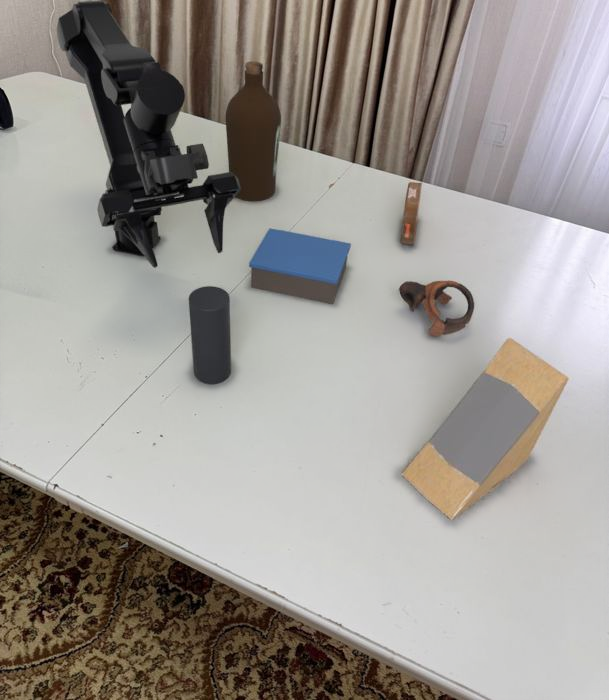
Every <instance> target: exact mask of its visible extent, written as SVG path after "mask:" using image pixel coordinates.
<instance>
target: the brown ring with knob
mask: <svg viewBox="0 0 609 700" xmlns="http://www.w3.org/2000/svg"><path fill="white" fill-rule="evenodd" d="M447 288H454V289H456V290H458V291H459V292H461V294H462V295H463V296H464V297H465V299H466V302H467V310H466V312H465V314H464V315H463V316H460V317H458V318H450V317H446V318H445V321H444V320H442V319H440V317H441V314H442V313H441V312H440V310H439V309H438V308H437V306H436V302H438V303H440V304H442V305H444V306H447V305H448V303H449V302H450V301H451V300H452V299H453V297H452V296H451V295H450V294H448V293H446V292H444V291H445V289H447ZM398 292H399V295H400V298H401V299H402V300H403V301H404V302H405V303H406V304H407V305H408V307H409V310H410V312H414V311H415V308H416V307H419V306H420V305H421V304H422V305H423V307H424V310H425V313H426V314H427V317H428V318H429V320H430V321H431V322H432V326H431V327H430V328H428V330H427V334H429V335H431V336H432V337H435V338H437V337H441V335H444V336H446V335H450V334H454V333H456V332H459V331H461V330H463V329H464V328H466V325H468V324H469V323H470V322H471V319H472V317H473V313H474V311H475V300H474V297H473V295H472V292H471V291H470V290H469V289H468V288H467V287H466V286H465V285H463V284H462V283H459V282H457V281H454V280H436V281H432V282H430V283H427V284H421V283H420V282H418V281H411V280H410V281H404V282H403V283H402V284H400V286H399V288H398Z"/></svg>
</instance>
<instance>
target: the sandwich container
mask: <svg viewBox="0 0 609 700" xmlns="http://www.w3.org/2000/svg"><path fill="white" fill-rule="evenodd" d="M568 381H569V376H567V375H566V374H565V373H562V372H561V371H560V370H558V369H557V368H555V367H554V366H552V365H551V364H550V363H548V362H547V361H545V359H543V358H541V357H540V356H538V355H536V354H535V353H533V352H532V351H531V350H530V349H528V348H527V347H525V346H524V345H522V344H520V343H519V342H518V341H516V340H514V339H513V338H511V337H508V338H507V339H506V340H505V341H504V342H503V344H502V345H501V346H500V348H499V350H498V351H497V352H496V354H495V355H494V356H493V358H492V359H491V360H490V362H489V363H488V364H487V365H486V367H485V368H484V370H483V371H482V373H481V374H480V375H479V376H478V378H477V379H476V380H475V382H473V384H472V386H471V387H470V388H469V389H468V390H467V392H466V393H465V394H464V396H463V397H462V398H461V399H460V401H459V402H458V403H457V405H455V407H454V408H453V409H452V411H451V412H450V413H449V415H448V416H447V417H446V418H445V420H444V421H443V422H442V423H441V424H440V426H439V427H438V429H436V431H435V432H434V434H433V435H432V436H431V437H430V438H429V440H428V441H427V443H425V445H424V446H423V448H421V450H420V451H419V452H418V453H417V455H416V456H415V457H414V459H412V461H411V462H410V464H408V466H407V467H406V468H405V469H404V471H403V472H402V473H401V476H402V477H403V478H405V480H406V481H407V482H408V483H410V484H411V485H412V487H414V488H415V490H417V491H418V492H419V494H421V495H422V496H423V497H424V498H425V499H426V500H427V501H428V502H430V503H431V504H432V505H433V506H434V507H435V508H437V509H438V510H439V511H440V512H441V513H443V514H444V515H445V516H446V517H448V518H449V519H450V520H451V521H453V520H454V519H455V518H457V517H458V516H459V515H461V514H462V513H464V512H465V511H467V510H468V509H469V508H470V507H471V506H473V505H474V504H475V503H477V502H478V501H479V500H481V499H482V498H484V497H486V495H488V494H489V493H490V492H491V491H492V490H494V489H495V488H496V487H497V486H498V485H500V484H501V483H502V482H503V481H504V480H505V479H508V478H509V477H510V476H511V475H512V474H514V473H515V472H516V471H517V469H519V468H520V467H521V466H522V465H523V464H524V463H526V461H527V460H528V459H529V458H530V456H531V454H532V451H533V450H534V448H535V446H536V444H537V442H538V440H539V438H540V437H541V434H542V433H543V431H544V429H545V426H546V424H547V423H548V420H549V419H550V417H551V416H552V412H553V411H554V409H555V407H556V405H557V403H558V401H559V399H560V397H561V395H562V393H563V392H564V390H565V387H566V385H567V383H568Z"/></svg>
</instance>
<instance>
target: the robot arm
mask: <svg viewBox="0 0 609 700" xmlns="http://www.w3.org/2000/svg"><path fill="white" fill-rule="evenodd" d="M57 19H58V20H57V25H56V35H57V41H58V45H59V47H60V49H61V51H62V52H65V56H66V59H67V61H68V64H69V66H70V68H72V69H73V70H74V71H75V72H76V73H77V74H78V75H79V76H80V77H82V79H83V80H84V83H85V85H86V89H87V92H88V93H87V94H88V96H89V100H90V103H91V106H92V109H93V113H94V116H95V119H96V122H97V126H98V129H99V132H100V133H99V134H100V136H101V139H102V142H103V146H104V150H105V152H106V155H107V159H108V163H109V166H110V167H109V169H108V174H107V177H106V181H105V186H106V189H105V190H104V193H103V194H101V197H100V198H99V201H98V205H97V208H96V209H97V210H96V211H97V215H98V218H99V222H100V225H101V227H104V228H106V227H107V228H108V227H112V230H113V232H114V235H115V243H114V244H113V246H112V247H111V248H112V251H115V252H120V253H125V254H130V255H134V256H140V257H145V259H146V260H147V261H148V263H149V264H150V266H152V267H153V268H154V269H156V268H158V261H157V257H156V254H155V252H154V248H155V247H156V246H157V245H158V244H159V242H160V241H161V239H162V238H161V236H160V235H159V227H158V221H155V217H156V216H158V217H159V216H161V215H162V210H163V209H162V208H164V207H165V208H166V207H169V206H175V205H180V204H187V203H191V202H196V201H202V202H203V203H204V204H205V205H207V206H206V207H205V208H204V210H203V211H204V214H205V218H206V222H207V225H208V228H209V232H210V235H211V238H212V242H213V245H214V248H215V250H216V252H217V253H218V254H221V253H222V252H223V245H224V243H223V242H224V241H223V240H224V220H225V219H224V218H225V212H226V208H227V207H228V206H229V204H230V203H231V202H232V201H233V200H234V199H235V198H236V197H235V196H236V195H237V194H238V193H239V191H240V190H241V187H240V184H239V180H238V178H237V177H236V176H235V175H234V174H233V173H232V172H229V171H228V172H222V173H217V174H210V175H208V176H207V177H206V179H205V180H204V181H203V183H202V184H200V185H195V186H189V185H190V184H192V183H193V182H194V180H196V179H198V178H199V177H198V172H197V171H201V170H207V169H209V166H210V163H209V158H208V154H207V151H206V148H205V146H204V143H196V144H190V145H187V146H186V153H183V154H182V151H181V148H180V147H179V144H176V142H175V139H174V136H173V133H172V129H173V127H174V126H175V124H176V122H177V120H178V117H179V114H180V112H181V110H182V108H183V106H184V103H185V99H186V93H185V88H184V85H183V84H182V83H181V82H180V81H179V80H178V79H177V77H176V76H174V75H173V74H171V73H170V72H168V71H165V70H164V69H163V67H162V66H161V64H160V61H157V60H156V59H155V58H154V57H153V56H152V54H151V53H150V52H148V51H147V50H146V49H144V48H141V47H137V46H134V45H133V44H132V43H131V42H130V40H129V39H128V37H127V36H126V34H125V33H124V31H123V29H122V28H121V27H120V24H118V22H117V20H116V19H115V17H114V15H113V11H112V9H111V5H110V3H109V2H108V1H103V0H85V1H84V0H81V1H77V3H73V5H72V8H71V9H70V10H69V11H68V12H66V13H64V14H63V15H61V16H60V17H58V18H57ZM125 105H126V106H127V105H130V108H129V109H128V110H127V111H126V113H124V110H123V107H122V106H125Z"/></svg>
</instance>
